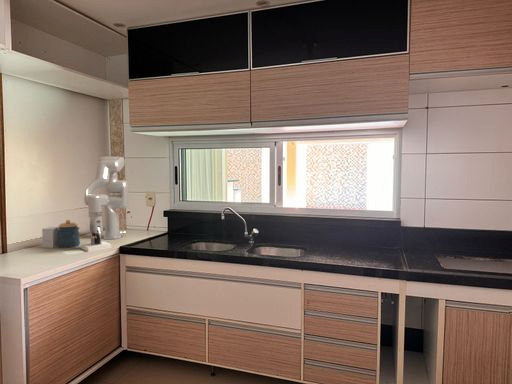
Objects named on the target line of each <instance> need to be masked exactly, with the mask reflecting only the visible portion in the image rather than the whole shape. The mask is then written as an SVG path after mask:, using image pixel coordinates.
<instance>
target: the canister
mask: <svg viewBox="0 0 512 384" xmlns="http://www.w3.org/2000/svg"><path fill="white" fill-rule="evenodd" d="M57 227H59V228H58V229H57V231H58V234H57V236H58V246H57V247H58V248H60V249H69V248H76V247H79V246H81V242H80V231H79V230H80V227H79V225H78V223H76V222H71V220H70V219H66V221H65V222H64V223H60V224H59V225H57Z"/></svg>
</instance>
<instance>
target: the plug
mask: <svg viewBox="0 0 512 384" xmlns="http://www.w3.org/2000/svg"><path fill="white" fill-rule="evenodd" d="M101 242H102V234H101V235H100V244H101ZM90 243H91V245H100V244H95V236H92V235H91V236H90Z"/></svg>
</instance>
